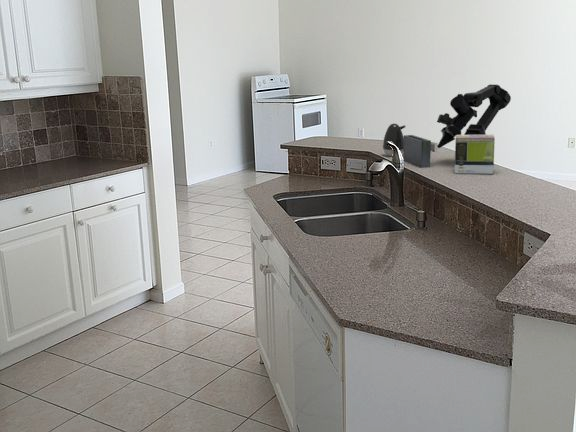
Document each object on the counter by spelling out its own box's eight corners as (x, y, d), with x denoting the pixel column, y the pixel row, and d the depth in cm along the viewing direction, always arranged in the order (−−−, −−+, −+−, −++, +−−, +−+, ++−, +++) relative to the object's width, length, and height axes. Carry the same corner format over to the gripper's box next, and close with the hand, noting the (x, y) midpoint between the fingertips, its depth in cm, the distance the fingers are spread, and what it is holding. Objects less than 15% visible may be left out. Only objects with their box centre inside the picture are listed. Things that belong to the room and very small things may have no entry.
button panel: (411, 159, 290) (412, 134, 287) (430, 166, 271) (430, 140, 268) (403, 160, 289) (403, 135, 286) (420, 167, 270) (421, 141, 267)
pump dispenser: (403, 157, 295) (403, 124, 291) (380, 157, 299) (381, 124, 295) (406, 154, 305) (407, 122, 301) (384, 153, 308) (385, 122, 304)
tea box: (492, 170, 261) (494, 134, 257) (493, 174, 252) (495, 137, 248) (454, 169, 265) (456, 133, 261) (453, 173, 256) (455, 136, 252)
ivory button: (433, 150, 275) (433, 141, 274) (437, 152, 271) (437, 142, 270) (423, 151, 274) (423, 142, 273) (427, 152, 270) (427, 143, 269)
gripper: (444, 109, 283) (420, 136, 285) (451, 105, 265) (426, 134, 266) (463, 125, 283) (440, 152, 285) (472, 122, 264) (447, 151, 266)
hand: (438, 147), depth 276 cm, fingers closed
